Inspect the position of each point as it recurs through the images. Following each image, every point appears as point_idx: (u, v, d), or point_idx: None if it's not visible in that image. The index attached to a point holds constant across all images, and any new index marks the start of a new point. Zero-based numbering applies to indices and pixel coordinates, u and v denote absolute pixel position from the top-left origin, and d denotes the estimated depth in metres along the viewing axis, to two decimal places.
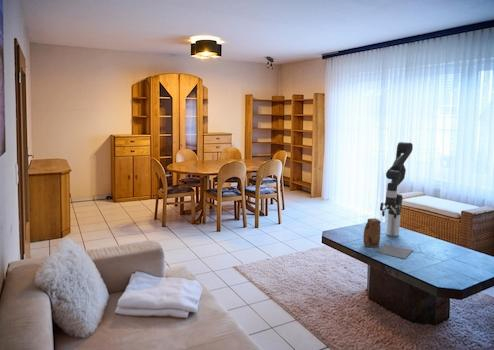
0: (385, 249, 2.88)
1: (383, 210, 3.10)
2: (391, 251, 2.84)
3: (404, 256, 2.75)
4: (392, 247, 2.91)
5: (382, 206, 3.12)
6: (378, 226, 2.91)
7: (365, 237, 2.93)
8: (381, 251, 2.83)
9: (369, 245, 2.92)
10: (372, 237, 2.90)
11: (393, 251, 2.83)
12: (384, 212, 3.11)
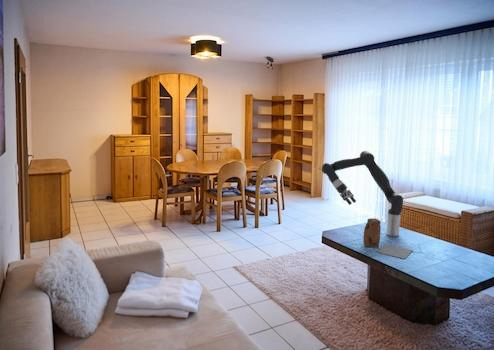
0: (385, 249, 2.88)
1: (350, 197, 3.06)
2: (391, 251, 2.84)
3: (404, 256, 2.75)
4: (392, 247, 2.91)
5: (349, 193, 3.08)
6: (378, 226, 2.91)
7: (365, 237, 2.93)
8: (381, 251, 2.83)
9: (369, 245, 2.92)
10: (372, 237, 2.90)
11: (393, 251, 2.83)
12: (352, 198, 3.05)
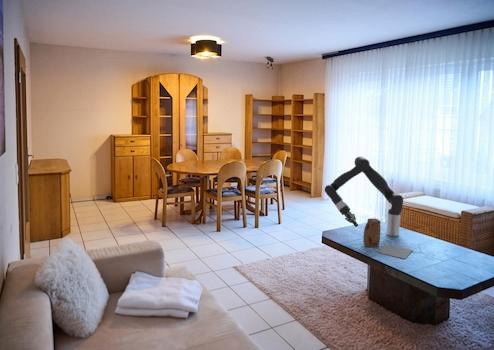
0: (385, 249, 2.88)
1: None
2: (391, 251, 2.84)
3: (404, 256, 2.75)
4: (392, 247, 2.91)
5: None
6: (378, 226, 2.91)
7: (365, 237, 2.93)
8: (381, 251, 2.83)
9: (369, 245, 2.92)
10: (372, 237, 2.90)
11: (393, 251, 2.83)
12: None
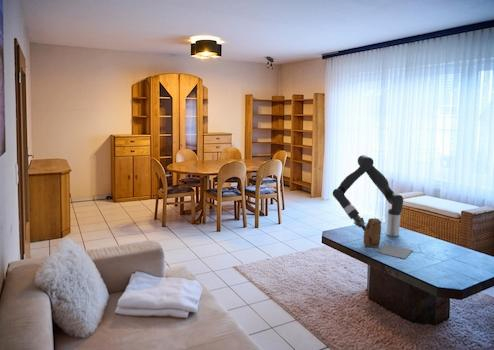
0: (385, 249, 2.88)
1: None
2: (391, 251, 2.84)
3: (404, 256, 2.75)
4: (392, 247, 2.91)
5: None
6: (379, 226, 2.90)
7: (365, 237, 2.93)
8: (381, 251, 2.83)
9: (369, 245, 2.92)
10: (372, 237, 2.90)
11: (393, 251, 2.83)
12: None
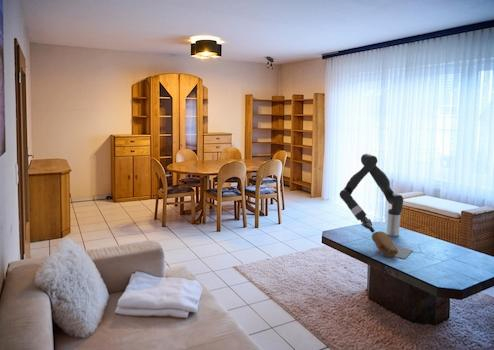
0: None
1: None
2: None
3: (404, 256, 2.75)
4: None
5: None
6: None
7: (375, 240, 2.80)
8: None
9: None
10: None
11: None
12: None
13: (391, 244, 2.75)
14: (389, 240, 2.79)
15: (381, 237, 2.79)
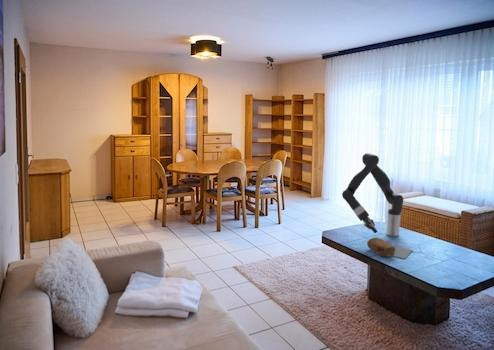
0: None
1: None
2: None
3: (404, 256, 2.75)
4: None
5: (371, 223, 2.97)
6: None
7: (371, 246, 2.82)
8: None
9: None
10: None
11: None
12: None
13: (386, 244, 2.77)
14: (384, 241, 2.81)
15: (375, 241, 2.82)
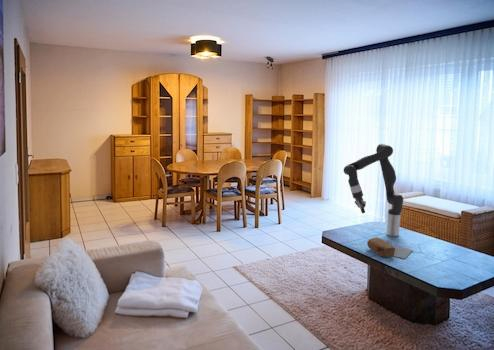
0: None
1: (360, 207, 3.02)
2: None
3: (404, 256, 2.75)
4: None
5: None
6: None
7: (371, 246, 2.82)
8: None
9: None
10: None
11: None
12: None
13: (386, 244, 2.77)
14: (384, 241, 2.81)
15: (375, 241, 2.82)
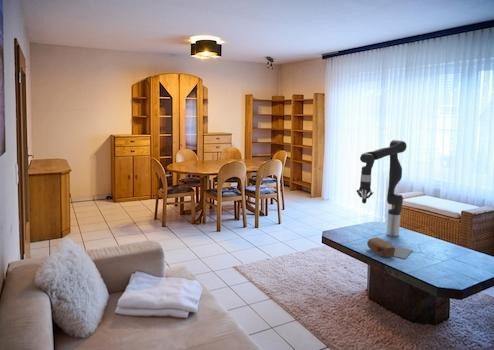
0: None
1: (363, 197, 3.01)
2: None
3: (404, 256, 2.75)
4: None
5: (360, 193, 3.03)
6: None
7: (371, 246, 2.82)
8: None
9: None
10: None
11: None
12: None
13: (386, 244, 2.77)
14: (384, 241, 2.81)
15: (375, 241, 2.82)
